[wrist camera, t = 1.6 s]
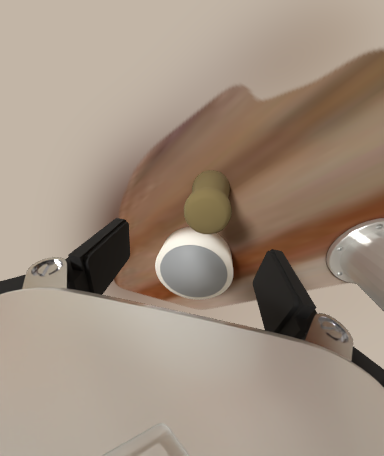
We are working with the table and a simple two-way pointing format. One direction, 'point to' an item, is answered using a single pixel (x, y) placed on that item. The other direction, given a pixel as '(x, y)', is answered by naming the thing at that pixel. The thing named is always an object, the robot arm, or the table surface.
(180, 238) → the podium
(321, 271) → the table surface
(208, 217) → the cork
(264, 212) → the table surface
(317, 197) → the table surface
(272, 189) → the table surface
